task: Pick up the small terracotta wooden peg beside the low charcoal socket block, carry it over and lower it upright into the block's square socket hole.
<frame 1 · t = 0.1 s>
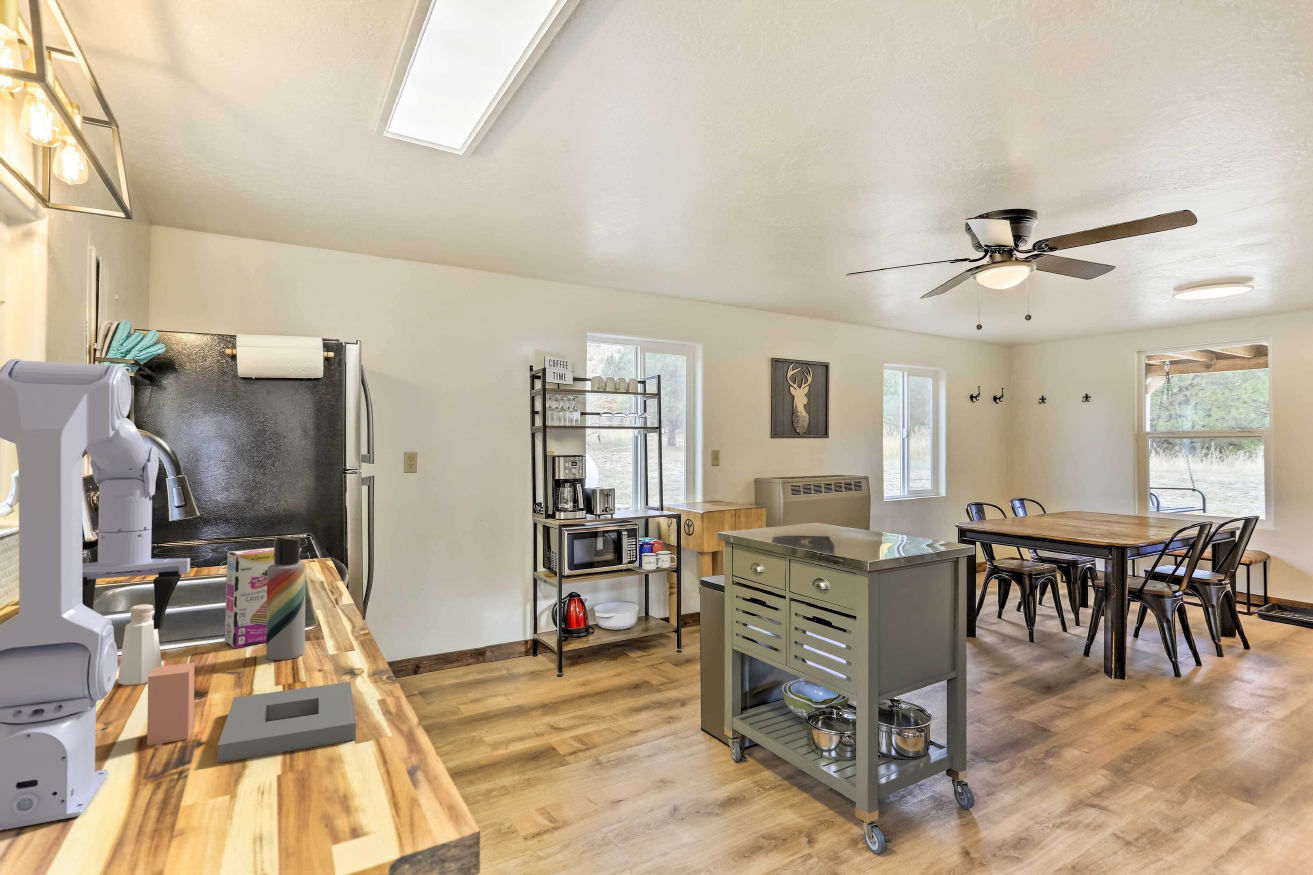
hand: (123, 630, 92), 10 cm above the counter, fingers open, 7 cm apart
terracotta peg: (171, 735, 83), on the counter
lotion bottle: (285, 656, 114), on the counter
socket block: (291, 725, 86), on the counter
pepper shaker: (140, 680, 102), on the counter
candy bar box: (263, 641, 123), on the counter
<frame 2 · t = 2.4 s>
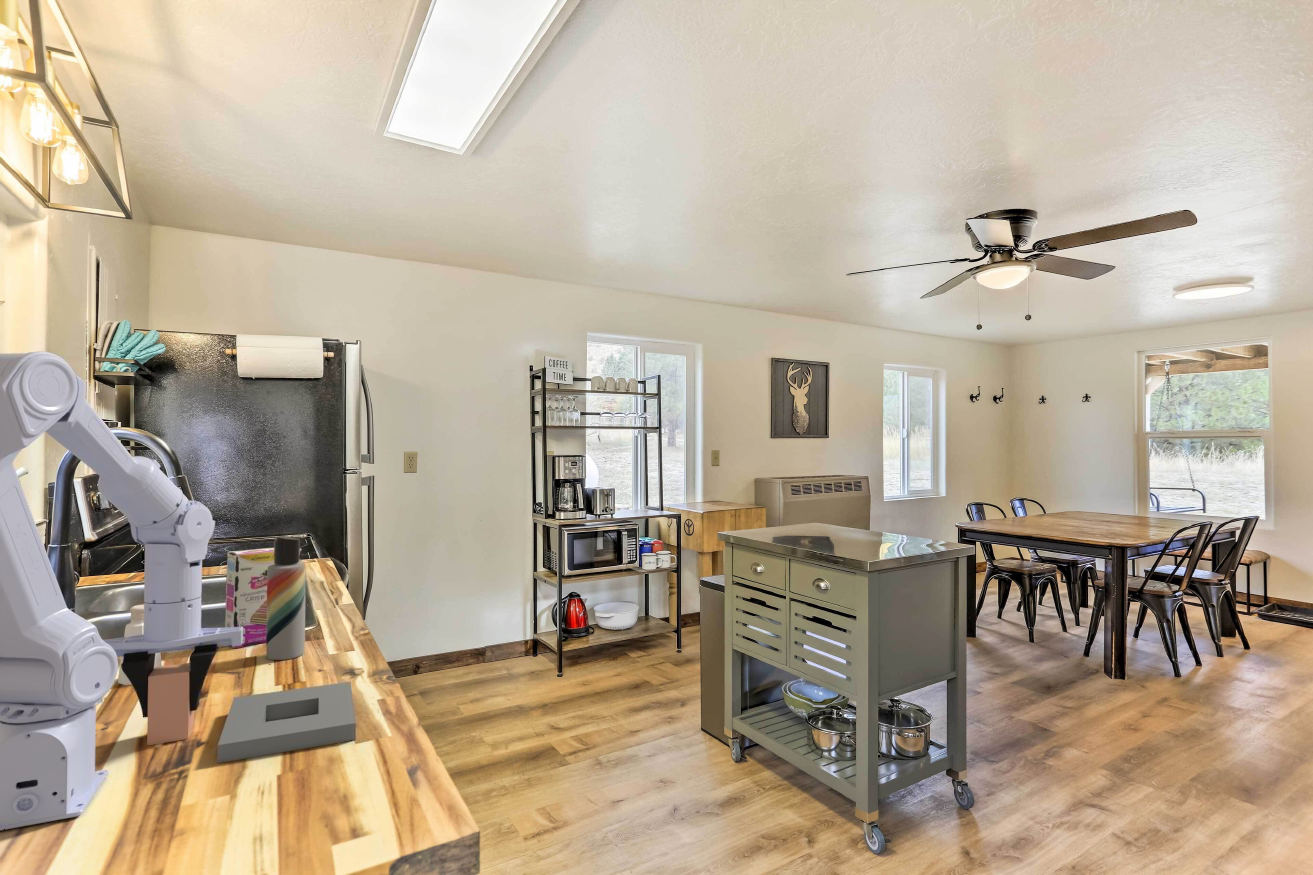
hand: (171, 711, 83), 3 cm above the counter, fingers closed on terracotta peg, 4 cm apart
terracotta peg: (171, 735, 83), on the counter, touching gripper
everything else where it was.
when the fingers open (4 cm above the counter, at t = 8.1 s): terracotta peg drops 1 cm, resting in socket block.
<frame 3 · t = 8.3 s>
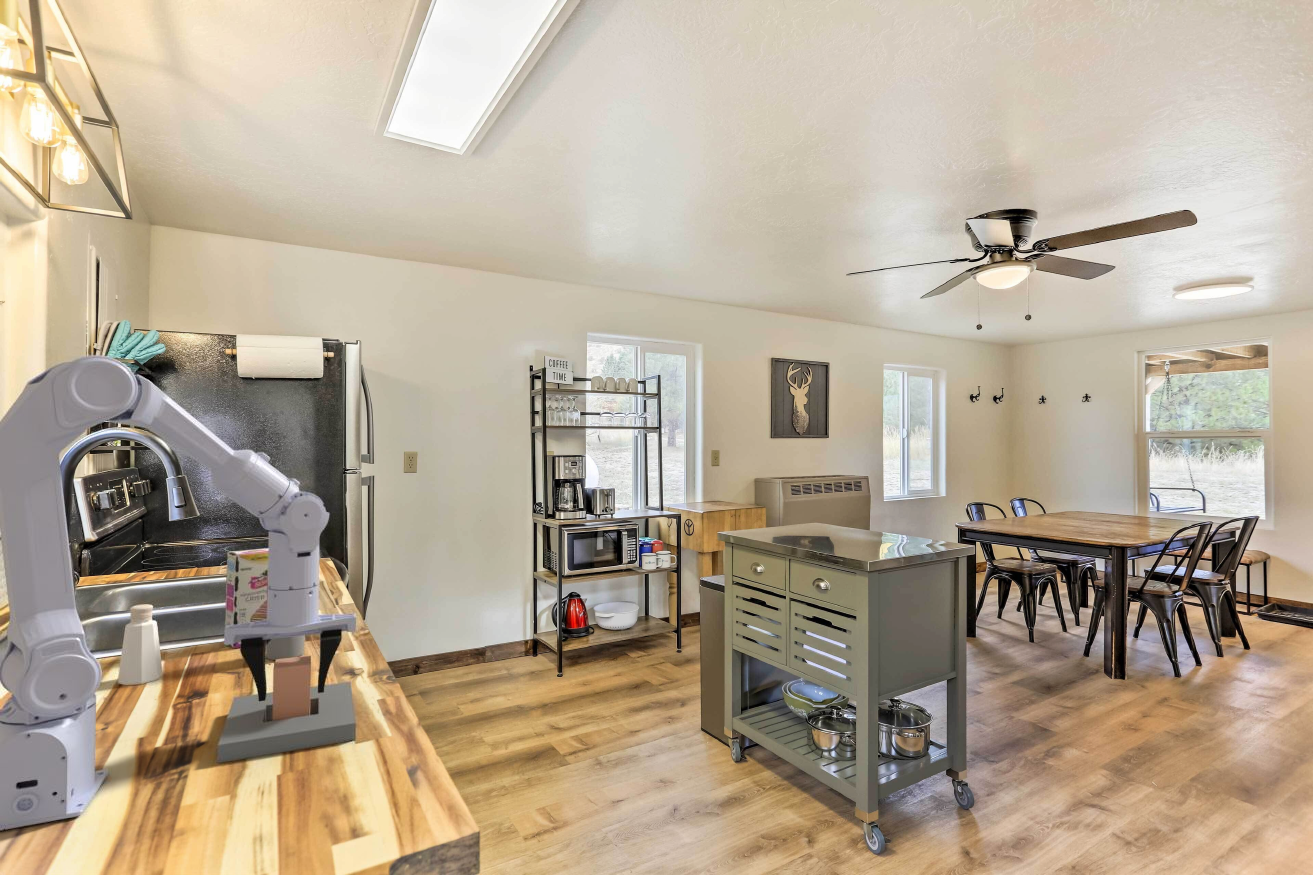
hand: (292, 694, 86), 4 cm above the counter, fingers open, 6 cm apart
terracotta peg: (291, 725, 86), resting in socket block
everything else where it was.
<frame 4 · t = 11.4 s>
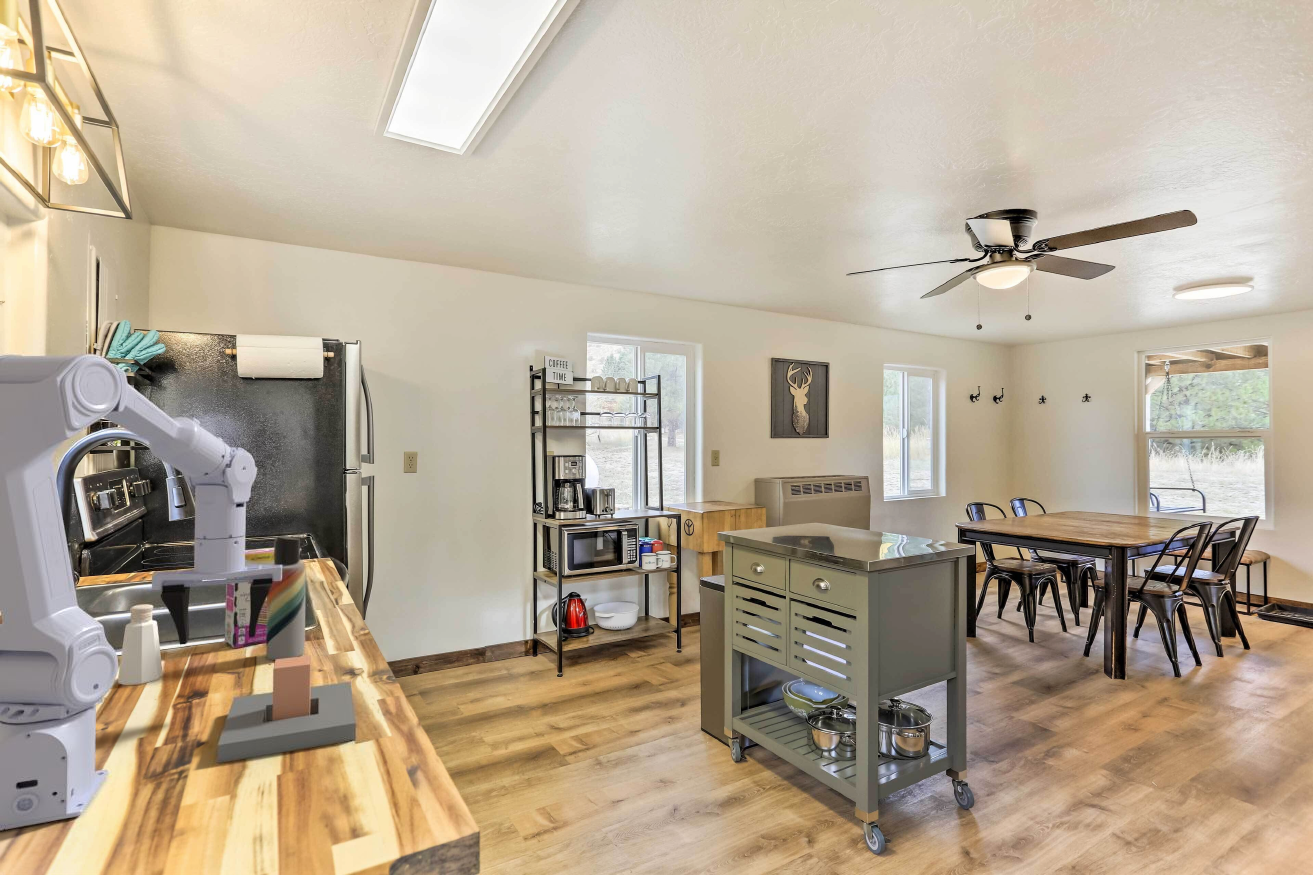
hand: (218, 638, 91), 9 cm above the counter, fingers open, 7 cm apart
nothing on the counter moved.
at the end: terracotta peg 0.1 cm off-centre on the socket block, point 0.0 cm above the socket block's base; terracotta peg tilted 0°; the gripper is holding nothing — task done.
